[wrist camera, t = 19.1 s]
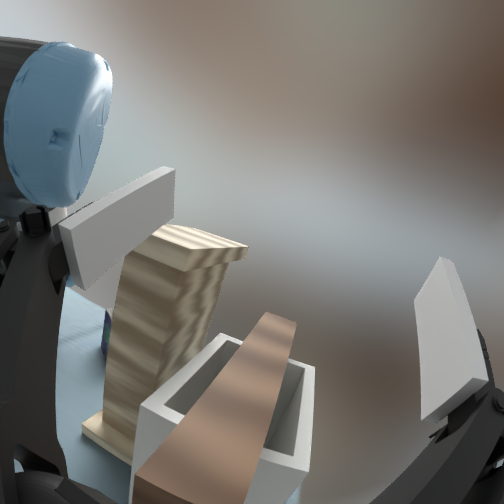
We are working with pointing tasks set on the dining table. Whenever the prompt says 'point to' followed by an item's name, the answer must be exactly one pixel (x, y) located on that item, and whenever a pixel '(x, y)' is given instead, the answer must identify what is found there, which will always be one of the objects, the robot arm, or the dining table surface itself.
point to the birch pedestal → (157, 324)
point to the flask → (107, 330)
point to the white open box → (278, 436)
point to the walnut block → (222, 427)
